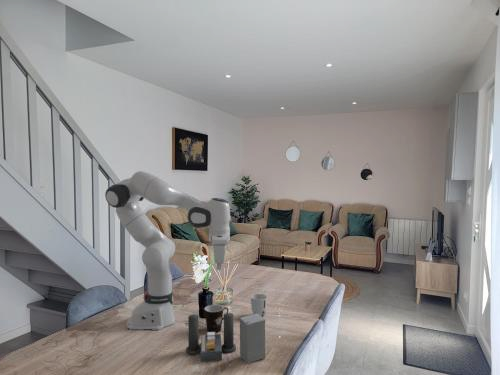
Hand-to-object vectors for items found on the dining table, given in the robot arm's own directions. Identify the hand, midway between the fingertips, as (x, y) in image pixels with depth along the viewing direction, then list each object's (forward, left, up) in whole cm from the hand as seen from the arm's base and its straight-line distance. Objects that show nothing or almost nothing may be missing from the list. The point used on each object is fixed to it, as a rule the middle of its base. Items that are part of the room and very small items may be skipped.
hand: (218, 268), depth 144 cm
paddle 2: (-3, -14, -27) cm, 30 cm away
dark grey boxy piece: (-3, -10, -31) cm, 32 cm away
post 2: (+4, -9, -31) cm, 32 cm away
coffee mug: (0, +9, -31) cm, 32 cm away
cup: (+21, +21, -31) cm, 43 cm away
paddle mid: (-3, -10, -27) cm, 29 cm away
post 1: (-10, -9, -31) cm, 33 cm away
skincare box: (+12, -16, -31) cm, 37 cm away
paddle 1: (-3, -6, -27) cm, 28 cm away
